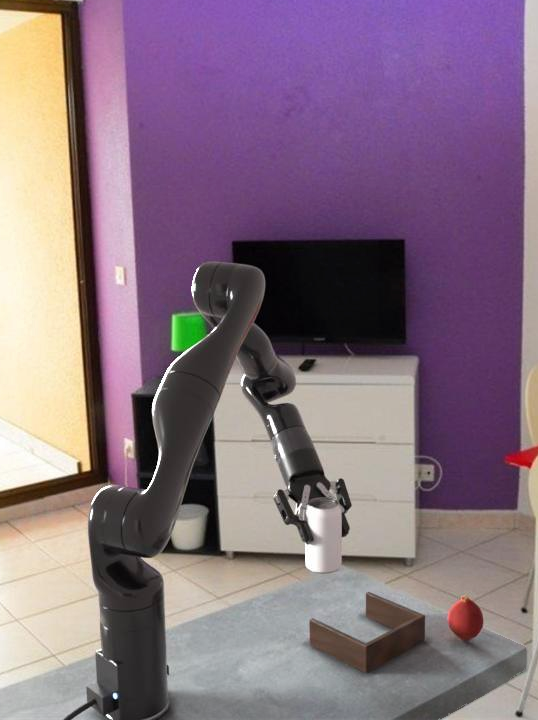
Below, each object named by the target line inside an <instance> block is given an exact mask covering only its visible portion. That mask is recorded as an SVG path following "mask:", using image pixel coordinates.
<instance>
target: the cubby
mask: <svg viewBox="0 0 538 720" xmlns="http://www.w3.org/2000/svg"><path fill="white" fill-rule="evenodd" d="M365 617H366V618H368V619H370V620H372V621H374V622H376V623H379V624H381V625H383V626H386V627H387V628H390V630H388V631H385V632H384V633H383V634H380V635H379V636H376V637H375V638H373V639H371V640H369V641H367V642H364V641H362V640H360V639H358V638H357V637H353V636H352V635H350V634H347V633H345V632H343V631H341V630H339V629H338V628H335V627H334V626H330V625H328V624H326V623H324V622H322V621H321V620H318V619H316V618H314V617H312V618H310V619H309V645H310V646H311V647H314V648H315V649H318V650H320V651H321V652H323V653H324V654H327V655H329V656H331V657H333V658H334V659H337V660H339V661H341V662H343V663H345V664H347V665H349V666H351V667H353V668H354V669H357V670H358V671H361V672H362V673H364V674H368V673H369V672H371V671H373V670H376V669H377V668H379V667H380V666H382V665H384V664H386V663H387V662H389V661H391V660H393V659H394V658H397V657H398V656H399V655H401V654H403V653H405V652H407V651H408V650H410V649H413V648H414V647H416V646H417V645H419V644H421V643H423V642H425V641H426V615H425V614H423V613H420V612H418V611H416V610H414V609H411V608H409V607H406V606H405V605H401V604H399V603H397V602H394V601H391V600H390V599H387V598H384V597H382V596H380V595H378V594H376V593H372V592H371V591H367V592H365Z"/></svg>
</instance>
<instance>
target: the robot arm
mask: <svg viewBox="0 0 538 720" xmlns="http://www.w3.org/2000/svg"><path fill="white" fill-rule="evenodd" d="M191 285H192V286H191V295H192V300H193V303H194V306H195V307H196V309H197V311H198V312H199V313H200V315H201V316H202V317H203V318H204V319H205V320H206V321H207V322H208V324H209V325H210V326H211V328H212V329H213V330H212V331H211V332H210V333H209V334H207V335H206V336H205V337H204V338H202V339H201V340H199V341H198V342H197V343H195V344H194V345H193V346H191V347H190V348H188V349H187V350H185V351H184V352H183V353H182V354H181V355H180V356H178V357H177V358H176V359H175V360H174V361H173V362H172V363H171V364H170V366H169V367H168V368H167V370H166V372H165V373H164V376H163V378H162V380H161V383H160V384H159V387H158V389H157V391H156V394H155V396H154V398H153V401H152V406H151V407H152V408H151V415H152V416H151V418H152V425H153V429H154V433H155V434H154V435H155V438H156V443H157V449H158V460H157V465H156V469H155V471H154V474H153V477H152V480H151V481H150V483H149V486H148V487H147V489H144V488H137V487H131V486H125V485H116V484H115V485H114V484H113V485H106V486H105V487H103V488H101V489H100V490H99V491H98V492H97V493H96V494H95V496H94V498H93V499H92V502H91V504H90V507H89V511H88V519H87V537H88V547H89V557H90V565H91V574H92V575H91V577H92V582H93V584H94V587H95V589H96V591H97V594H98V595H97V596H98V614H99V615H98V616H99V633H100V635H99V637H100V649H98V650H96V651H95V656H94V657H95V673H96V681H94V682H92V683H90V684H87V685H86V687H85V688H86V702H85V703H84V704H82V705H80V706H79V707H77V708H76V709H74V710H73V711H72V712H70V713H69V714H68V715H66V716H65V717H64V718H63V719H62V720H73V719H74V718H76V717H78V716H79V715H80V714H82V713H84V712H85V711H86V710H88V709H89V708H93V709H94V710H95V711H96V712H98V713H99V714H100V715H101V716H103V717H104V718H106V720H158V719H159V718H161V717H162V716H164V715H165V713H167V711H168V709H169V707H170V697H169V685H168V682H169V681H168V676H170V666H169V664H168V659H167V657H168V655H167V634H166V633H167V632H166V604H165V582H164V578H163V577H164V576H163V575H162V573H161V572H160V571H159V570H158V569H156V568H155V567H154V566H152V565H151V564H149V563H148V562H146V561H145V560H144V559H152V558H155V557H158V555H160V554H161V553H162V552H163V550H164V549H165V548H166V546H167V545H168V542H169V541H170V539H171V536H172V534H173V531H174V529H175V526H176V522H177V519H178V516H179V513H180V509H181V506H182V503H183V500H184V496H185V493H186V489H187V487H188V483H189V478H190V476H191V473H192V470H193V467H194V464H195V461H196V459H197V456H198V453H199V451H200V448H201V446H202V443H203V441H204V438H205V435H206V434H207V431H208V428H209V427H210V424H211V422H212V420H213V417H214V415H215V413H216V410H217V408H218V405H219V402H220V400H221V397H222V395H223V392H224V388H225V385H226V383H227V380H228V378H229V375H230V372H231V370H232V367H233V365H234V363H235V360H236V362H237V363H238V366H239V367H240V369H241V372H242V373H243V376H242V378H241V380H240V389H241V392H242V395H243V396H244V398H245V399H246V401H247V402H248V404H249V405H250V406H251V407H252V408H253V409H254V411H255V412H256V413H257V414H258V416H259V417H260V419H261V421H262V423H263V425H264V428H265V430H266V433H267V435H268V438H269V441H270V443H271V447H272V452H273V455H274V459H275V462H276V463H277V467H278V469H279V472H280V474H281V477H282V480H283V483H284V485H285V486H286V489H285V490H283V489H282V488H279V489H278V490H277V491H276V492H275V494H274V495H273V497H272V499H273V501H274V503H275V506H276V508H277V510H278V512H279V515H280V517H281V520H282V521H283V523H284V524H285V525H286V526H290V525H293V526H295V527H296V529H297V531H298V535H299V537H300V539H301V541H302V543H304V544H305V543H306V545H309V544H311V543H312V542H313V540H314V538H313V535H312V533H311V530H310V527H309V525H308V522H307V521H305V515H306V514H305V511H306V509H307V506H308V504H307V503H308V501H309V500H311V499H314V498H319V497H328V498H333V499H336V500H338V501H339V507H340V509H341V513H342V538H345V537H347V536H348V535H349V534H350V533H349V532H350V530H351V528H350V524H349V522H348V519H347V516H346V514H347V513H348V512H349V510H350V509H351V508H352V506H353V504H352V500H351V498H350V494H349V491H348V489H347V485H346V482H345V480H344V478H338V480H335V481H334V480H333V481H330V480H329V479H328V478H327V477H326V474H325V469H324V467H323V465H322V462H321V460H320V457H319V455H318V452H317V449H316V447H315V445H314V442H313V440H312V437H311V436H310V433H309V432H308V431H307V429H306V425H305V423H304V421H303V418H302V416H301V413H300V411H299V409H298V407H297V406H296V405H295V404H294V403H292V402H291V403H290V402H282V403H281V402H280V403H275V404H273V403H272V402H275V401H276V400H279V399H282V398H284V397H286V396H289V395H291V394H292V393H293V392H294V390H295V388H296V385H297V378H296V374H295V372H294V370H293V369H292V367H291V366H290V365H289V363H287V362H286V361H285V360H284V359H283V358H282V357H280V356H279V355H277V353H276V351H275V348H274V347H273V345H272V342H271V340H270V338H269V336H268V335H267V333H266V332H265V331H264V330H263V329H262V328H261V327H260V326H258V325H257V324H256V323H255V321H256V318H257V316H258V314H259V312H260V310H261V308H262V307H261V306H262V304H263V301H264V297H265V293H266V277H265V274H264V272H263V271H262V269H260V268H259V267H257V266H254V265H251V264H245V263H236V262H227V261H219V260H218V261H216V260H215V261H206V262H203V263H202V264H201V265H199V266H198V268H197V269H196V272H195V274H194V276H193V280H192V284H191ZM270 403H271V404H270ZM330 490H331V491H332V493H331V492H330ZM334 494H335V496H334ZM289 499H291V501H294V502H295V503H296V505H295V510H294V511H293V509H292V507H291V505H290V503H289ZM315 501H316V500H315Z"/></svg>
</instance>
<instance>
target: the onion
mask: <svg viewBox="0 0 538 720" xmlns="http://www.w3.org/2000/svg"><path fill="white" fill-rule="evenodd" d="M446 619H447V625H448V627H449V629H450V631H451V632H452V633H453V634H454V635H455V636H456V637H457V638H459V639H460V640H461V641H462V642H468V641H470V640H472V639H474V638H476V637H477V636H478V635H479V634H480V633H481V631H482V629H483V627H484V623H485V622H484V615H483V612H482V609H481V608H480V606H479V605H478V604H477V603H476V602H475V601H473V600H472V599H471V598H469V596H468V595H462V596H461V597H460V599H459V600H458V601H456V602H455V603H454V604H452V606H451V607H450V609H449V610H448V614H447V617H446Z"/></svg>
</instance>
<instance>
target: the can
mask: <svg viewBox="0 0 538 720" xmlns="http://www.w3.org/2000/svg"><path fill="white" fill-rule="evenodd" d="M315 500H316V501H315ZM307 504H308V506H307V509H306V511H305V514H306V515H305V521H307V522H308V525H309V527H310V530H311V533H312V535H313V538H314V540H313V542H312V543H311V544H309V545H306V543H305V542H304V544H305V545H304V546H305V547H304V549H305V550H304V553H305V555H304V556H305V567H306V568H307V569H308V570H309V571H310V572H312V573H315V574H322V575H323V574H325V575H326V574H332V573H335V572H337V571H339V570H340V569H341V567H342V566H343V565H342V563H343V558H342V557H343V556H342V555H343V550H342V549H343V547H342V546H343V544H342V543H343V540H342V539H343V537H342V513H341V509H340V507H339V501H338V500H337V498H336V499H333V498H328V497H319V498H314V499H311V500H309V501H308V503H307Z"/></svg>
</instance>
